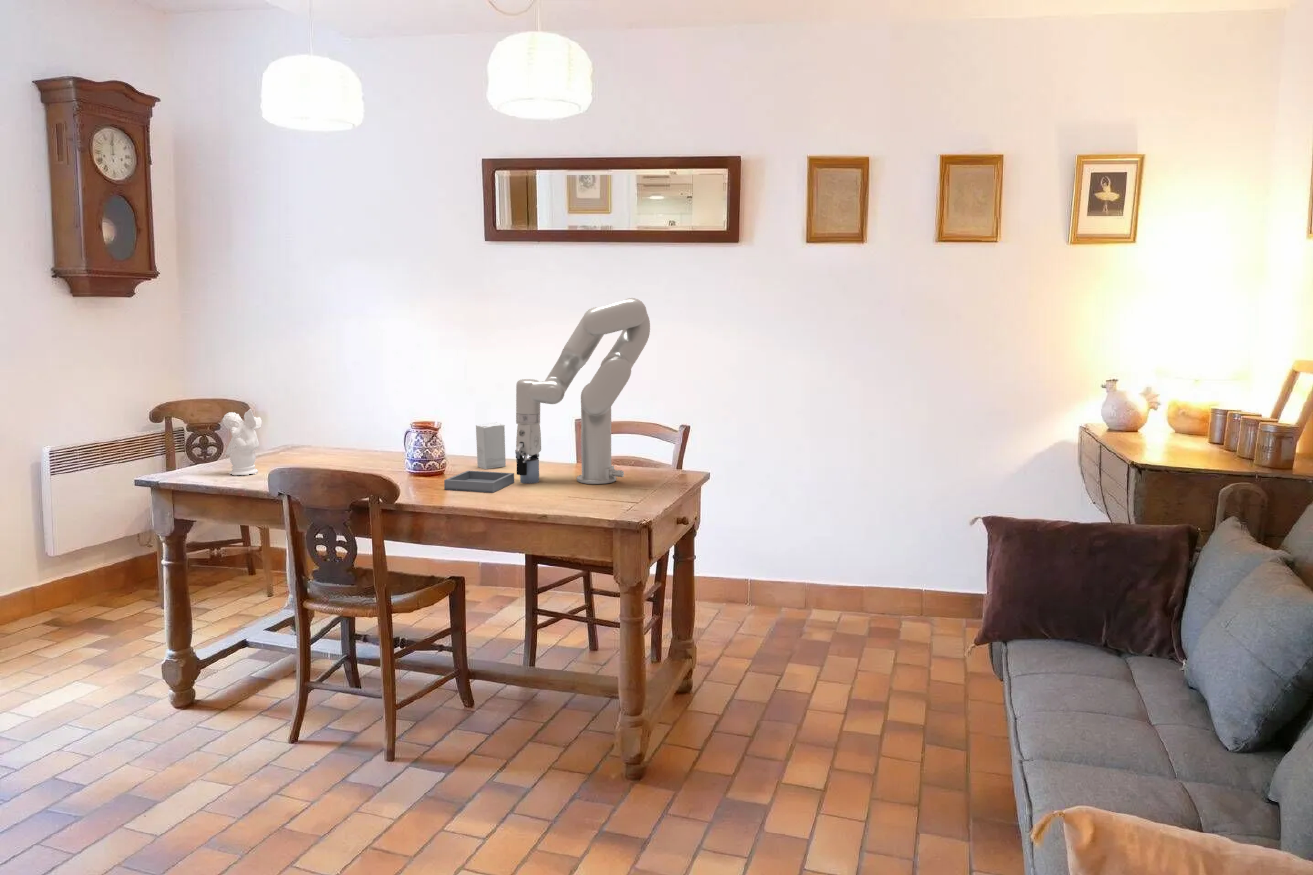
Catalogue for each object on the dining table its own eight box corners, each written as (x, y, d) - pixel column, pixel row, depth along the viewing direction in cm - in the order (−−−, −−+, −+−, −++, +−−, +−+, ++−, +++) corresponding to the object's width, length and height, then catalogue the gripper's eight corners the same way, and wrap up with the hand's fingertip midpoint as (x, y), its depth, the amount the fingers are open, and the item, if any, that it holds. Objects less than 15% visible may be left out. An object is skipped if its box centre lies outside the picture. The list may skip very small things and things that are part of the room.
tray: (514, 482, 307) (514, 473, 306) (492, 492, 292) (492, 483, 291) (467, 479, 311) (467, 470, 310) (444, 489, 296) (444, 480, 295)
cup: (542, 480, 311) (541, 458, 310) (534, 483, 305) (534, 461, 304) (524, 479, 312) (524, 457, 311) (517, 482, 307) (516, 460, 305)
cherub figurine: (221, 474, 318) (216, 408, 315) (253, 468, 329) (249, 404, 325) (246, 477, 312) (241, 409, 309) (278, 471, 323) (273, 405, 319)
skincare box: (497, 464, 337) (496, 422, 335) (506, 467, 333) (505, 424, 330) (476, 467, 332) (475, 424, 330) (484, 469, 327) (483, 426, 325)
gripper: (528, 423, 296) (528, 478, 299) (549, 416, 313) (548, 468, 315) (505, 421, 298) (505, 476, 301) (527, 414, 315) (527, 466, 317)
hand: (527, 472), depth 308 cm, fingers open, 9 cm apart
